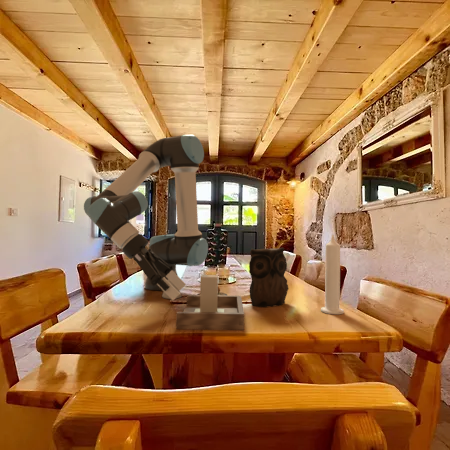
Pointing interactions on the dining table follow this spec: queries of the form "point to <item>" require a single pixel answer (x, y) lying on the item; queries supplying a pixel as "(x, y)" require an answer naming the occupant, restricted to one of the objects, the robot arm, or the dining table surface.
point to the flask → (174, 287)
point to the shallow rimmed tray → (212, 314)
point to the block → (209, 293)
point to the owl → (268, 277)
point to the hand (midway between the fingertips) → (180, 292)
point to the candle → (332, 278)
